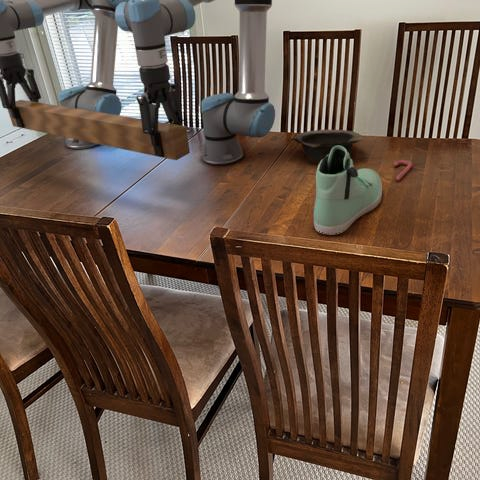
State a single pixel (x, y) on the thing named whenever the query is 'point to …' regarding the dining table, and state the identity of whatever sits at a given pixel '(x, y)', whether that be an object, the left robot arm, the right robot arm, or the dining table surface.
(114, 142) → the beam
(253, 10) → the right robot arm
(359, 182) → the sneaker
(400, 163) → the candy cane
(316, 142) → the stone bowl
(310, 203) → the dining table surface
